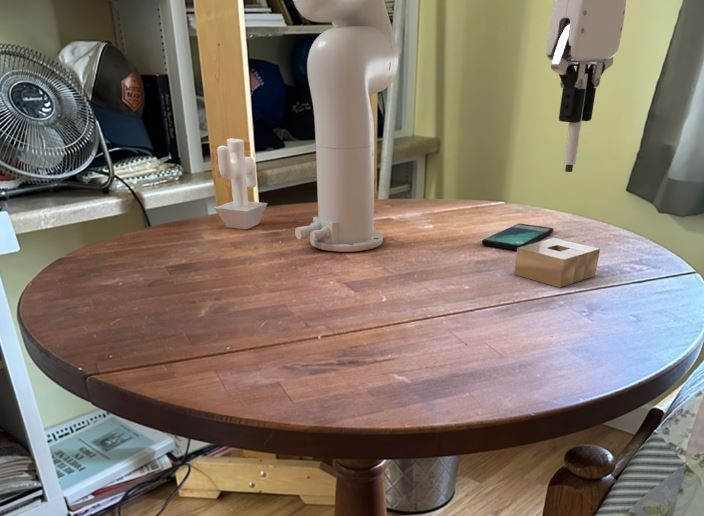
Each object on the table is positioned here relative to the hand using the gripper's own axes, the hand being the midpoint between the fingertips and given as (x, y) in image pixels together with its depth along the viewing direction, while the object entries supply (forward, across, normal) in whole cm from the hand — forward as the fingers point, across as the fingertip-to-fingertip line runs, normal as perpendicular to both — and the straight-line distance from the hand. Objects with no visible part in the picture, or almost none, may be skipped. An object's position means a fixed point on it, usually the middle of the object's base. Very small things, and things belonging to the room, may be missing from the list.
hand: (574, 120), depth 96 cm
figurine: (+21, +21, -56) cm, 63 cm away
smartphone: (+21, -10, -15) cm, 28 cm away
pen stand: (+21, +2, +2) cm, 21 cm away
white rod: (+7, 0, 0) cm, 7 cm away
